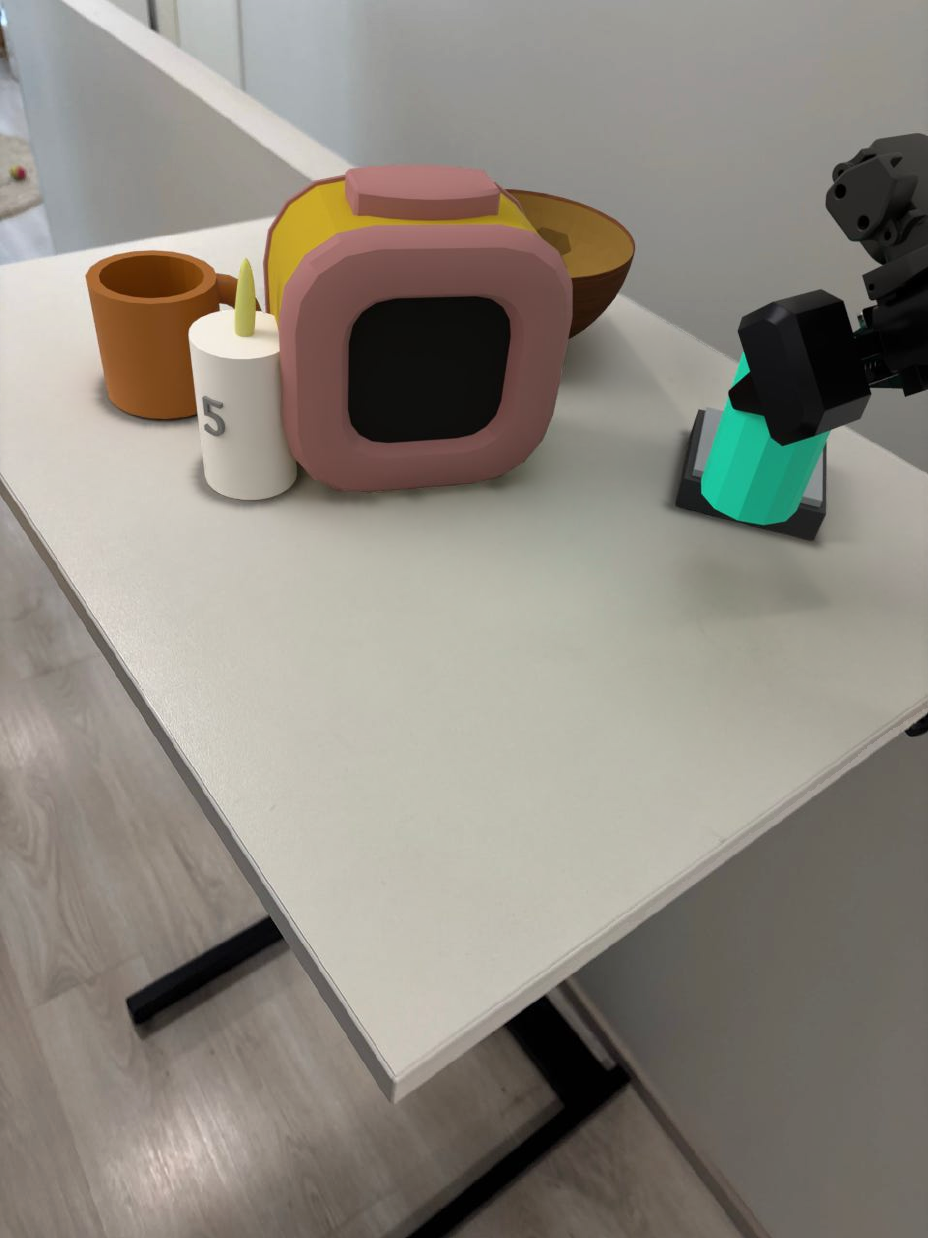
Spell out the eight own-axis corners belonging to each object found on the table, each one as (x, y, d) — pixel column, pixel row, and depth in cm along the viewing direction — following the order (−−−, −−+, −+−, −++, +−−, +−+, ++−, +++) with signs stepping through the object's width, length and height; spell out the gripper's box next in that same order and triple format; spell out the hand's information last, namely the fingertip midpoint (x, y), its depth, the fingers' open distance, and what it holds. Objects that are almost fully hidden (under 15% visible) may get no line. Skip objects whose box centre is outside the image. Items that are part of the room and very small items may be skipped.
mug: (272, 417, 69) (266, 304, 63) (104, 423, 66) (80, 305, 60) (264, 357, 75) (258, 249, 69) (109, 360, 72) (89, 247, 66)
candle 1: (183, 479, 62) (153, 264, 52) (243, 436, 67) (227, 230, 56) (258, 513, 61) (243, 298, 50) (314, 467, 65) (312, 259, 55)
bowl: (499, 417, 72) (518, 296, 65) (372, 322, 81) (376, 207, 74) (649, 363, 81) (680, 251, 74) (519, 283, 90) (535, 176, 83)
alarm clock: (288, 509, 61) (277, 216, 48) (268, 419, 69) (253, 143, 55) (546, 487, 66) (601, 214, 53) (501, 405, 74) (540, 147, 60)
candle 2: (811, 526, 54) (895, 338, 46) (714, 523, 54) (782, 333, 45) (778, 467, 59) (850, 286, 50) (688, 465, 58) (746, 280, 50)
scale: (815, 466, 72) (830, 432, 70) (813, 541, 65) (830, 506, 63) (689, 435, 73) (700, 401, 71) (674, 505, 66) (686, 470, 64)
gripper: (1106, 74, 42) (829, 227, 56) (855, 105, 34) (601, 277, 47) (1168, 308, 43) (882, 402, 57) (941, 397, 35) (668, 482, 48)
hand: (768, 387), depth 52 cm, fingers closed on candle 2, 6 cm apart
